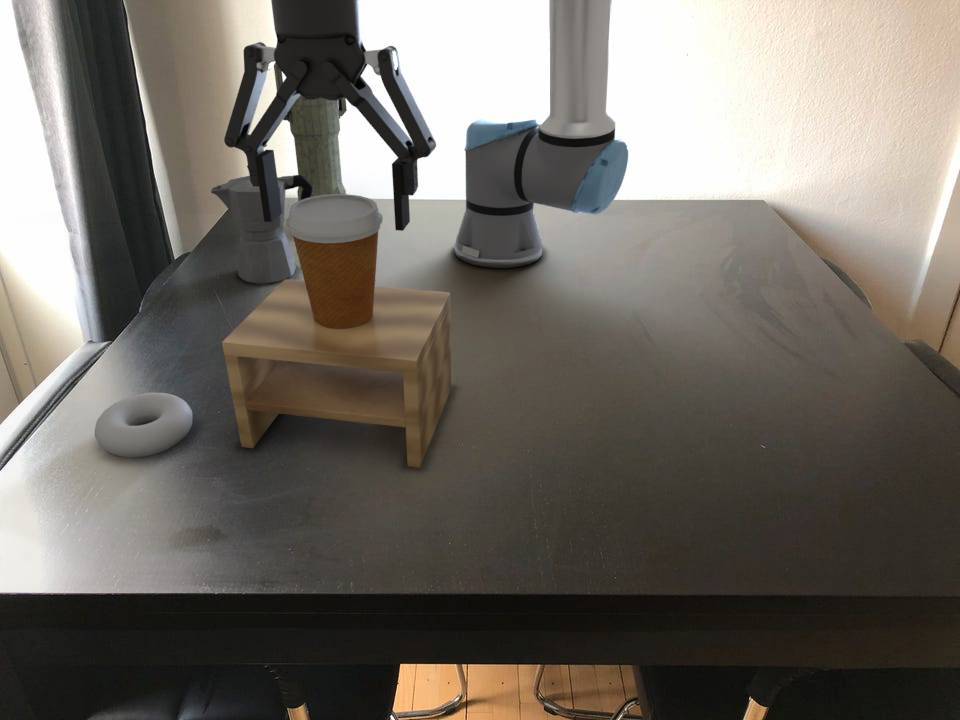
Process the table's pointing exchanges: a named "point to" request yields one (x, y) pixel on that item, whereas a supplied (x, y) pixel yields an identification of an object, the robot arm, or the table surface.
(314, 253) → the disposable coffee cup
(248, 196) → the coffeepot
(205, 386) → the table surface
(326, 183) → the thermos
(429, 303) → the shelf
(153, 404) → the donut
